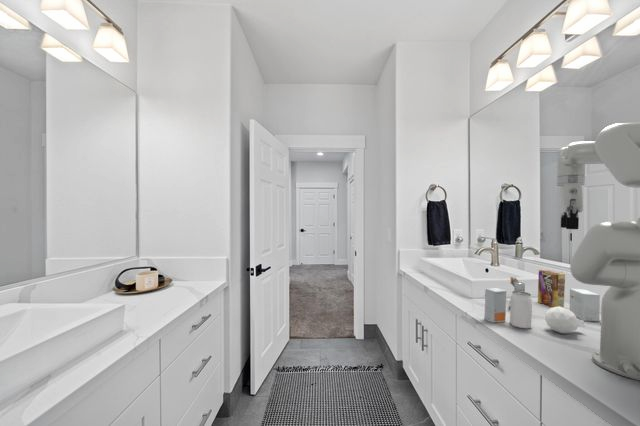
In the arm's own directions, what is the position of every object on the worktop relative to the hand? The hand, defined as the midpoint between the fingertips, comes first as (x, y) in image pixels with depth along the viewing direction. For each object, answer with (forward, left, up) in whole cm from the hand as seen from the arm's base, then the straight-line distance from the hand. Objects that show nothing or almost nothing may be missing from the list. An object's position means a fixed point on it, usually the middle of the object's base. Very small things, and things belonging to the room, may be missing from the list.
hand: (569, 228), depth 101 cm
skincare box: (-8, +22, -36) cm, 43 cm away
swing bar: (+18, +14, -29) cm, 37 cm away
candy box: (+28, +1, -36) cm, 46 cm away
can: (-8, +14, -36) cm, 40 cm away
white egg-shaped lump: (-6, +1, -36) cm, 37 cm away
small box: (+17, -8, -37) cm, 41 cm away
